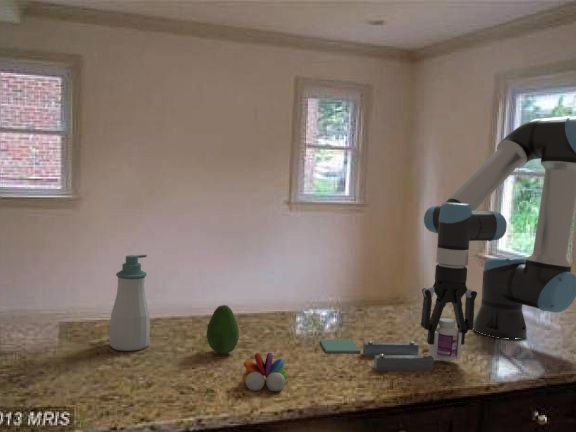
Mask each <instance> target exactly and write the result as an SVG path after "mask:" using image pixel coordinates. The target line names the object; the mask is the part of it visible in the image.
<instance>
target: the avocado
mask: <svg viewBox="0 0 576 432" xmlns="http://www.w3.org/2000/svg"><path fill="white" fill-rule="evenodd" d="M239 331H240V330H239V325H238V322H237V320H236V318H235V314H234V312H233V310H232V308H231V307H229V305H225V304H222V305H219V306H217V308H216V309H215V310H214V311H213V313H212V316H211V318H210V320H209V321H208V324H207V328H206V340H207V343H208V345H209V347H210V348H211V349H212V350H213V351H214V352H215V353H218V354H223V355H225V354H229V353H231V352H233V351H234V350H235V348H236V346H237V345H238V341H239V339H240V332H239Z"/></svg>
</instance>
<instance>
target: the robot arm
mask: <svg viewBox="0 0 576 432" xmlns="http://www.w3.org/2000/svg"><path fill="white" fill-rule="evenodd" d="M538 159H540V165H542V167H543V168H544V169H545V171H544V177H543V185H542V191H541V198H540V203H539V209H538V211H539V212H538V218H537V224H536V231H535V238H534V245H533V250H532V254H530V255H529V256H528V257H525V258H524V257H509V256H508V257H503V256H502V257H490V258H487V259H486V260H485V261H484V267H483V270H482V288H481V303H480V307H479V309H478V312H477V314H476V316H475V315H474V314H475V301H476V298H477V296H478V292H477V291H475V290H473V289H472V288H470V289H469V288H468V287H467V284H466V283H467V278H468V268H467V267H466V266H468V265H469V250H470V242H473V241H474V242H475V241H476V242H478V241H479V242H480V241H481V242H485V241H487V242H492V241H497V240H500V239H502V238H503V237H504V236H505V234H506V232H507V228H508V227H507V226H508V224H507V220H506V218H505V216H504V215H503V214H502V213H500V212H498V211H493V210H491V211H490V210H485V211H483V210H478V208H479V207H481V205H482V204H484V202H485V201H486V200H487V199H488V198H489V197H490V196H491V195H492V194H493V193H494V192H495V191H496V190H497V189H498V188H499V187H500V186H501V184H503V183H504V182H505V181H506V179H507V178H508V177H509V176H511V174H512V173H513V172H514V171H515V170H516V169H519V168H522V167H524V166H525V165H527V163H528V162H531V161H532V160H538ZM575 205H576V115H569V116H559V117H558V116H557V117H546V118H545V117H544V118H543V117H541V118H540V117H539V118H535V119H532V120H530V121H527V122H525V123H523V124H521V125H519V126H518V127H517V128H515V129H514V130H513V131H511V132H510V133H508V134H507V135H506V136H505V137H504V138H503V139H502V140H501V141H500V142H499V143H498V144H497V147H496V151H494V153H492V155H491V156H490V157H489V158H487V160H485V161H484V162H483V164H482V165H481V166H480V167H478V169H477V170H475V171H474V173H473V174H472V175H471V176H470V177H469V178H468V179H467V180H465V182H464V183H463V184H462V185H461V186H460V187H459V188H458V189H456V190H455V192H454V193H453V194H451V196H450V197H449V198H448V199H447V200H445V202H443V203H442V204H441V205H436V206H435V205H433V206H430V207H429V208H427V209H426V210H425V213H424V216H423V224H424V227H425V228H426V230H428V231H429V232H431V233H435V234H437V247H436V259H435V260H436V261H435V262H436V263H437V264H436V265H435V271H434V273H435V274H434V283H433V285H432V287H428V288H426V287H424V288H422V289H421V292H422V293H421V294H422V297H423V300H422V310H421V312H422V313H421V318H420V320H421V321H420V326H421V327H422V328H423V329H424V330H426V331H427V337H428V339H427V338H426V340H427V341H426V342H427V344H429V348H430V349H429V356H432V357H433V358H434V360H435V359H437V349H438V335H439V333H438V332H437V331H436V329H437V327H439V320H440V319H441V318H442V313H443V311H444V308H445V307H446V305H447V304H449V303H451V304H452V306H453V312H454V317H455V324H456V327H457V328H456V330H457V329H458V330H457V333H458V334H457V347H456V358H455V359H456V360H457V359H458V360H460V359H461V353H462V352H461V349H462V346H463V345H465V337H466V334H467V333H468V332H469V331H474V330H476V331H478V332H480V333H483V334H486V335H490V336H494V337H499V338H509V339H515V338H523V339H525V338H526V337H527V333H528V332H527V331H528V330H527V329H528V328H527V325H526V321H525V316H524V312H523V305H524V306H527V307H532V308H534V309H537V310H540V311H543V312H550V313H562V312H564V311H566V310H567V309H568V308H570V306H571V305H572V304H573V302H574V301H575V300H576V275H575V274H574V273H572V272H571V271H572V264H571V263H570V261H568V259H567V258H568V257H567V256H568V250H569V243H570V236H571V232H572V231H571V230H572V223H573V217H574V211H575ZM434 294H435V295H436V299H435V304H434V308H433V310H432V304H433V298H432V297H434ZM463 296H465V304H464V305H465V307H464V311H463V302H462V298H463ZM474 316H475V317H474ZM473 328H474V330H473ZM524 337H525V338H524ZM499 338H498V339H499ZM437 360H438V359H437Z"/></svg>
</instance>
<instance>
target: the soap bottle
mask: <svg viewBox="0 0 576 432" xmlns="http://www.w3.org/2000/svg"><path fill="white" fill-rule="evenodd" d="M141 258H147V254H137V255H134V254H132V255H131V254H130V255H125V262H124V263H122V264H121V266H122V269H121V270H119V271H117V272H116V273H115V276H116V277H117V290H116V294H115V300H114V302H113V307H112V311H111V313H110V323H109V339H108V340H109V341H108V342H109V346H110V347H111V348H112V349H114V350H115V351H122V352H134V351H140V350H143V349H146V347H148V346H149V345H150V340H151V339H150V337H151V336H150V335H151V334H150V333H151V331H150V330H151V323H150V309H149V305H148V301H147V296H146V291H145V290H146V289H145V279H146V277H147V272H146V271H144V270H142V264H141V263H139V259H141Z"/></svg>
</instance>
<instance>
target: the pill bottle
mask: <svg viewBox="0 0 576 432" xmlns="http://www.w3.org/2000/svg"><path fill="white" fill-rule="evenodd" d="M455 327H456V319H455V320H454V319H452V318H447V317H443V318H442V317H440V320H439V323H438V326H437V329H436V331H437V332H438V333H439V335H438V349H437V360H440V361H445V362H452V361H454V360H456V359H457V358H456V347H457V334H458V333H457V328H455Z"/></svg>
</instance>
